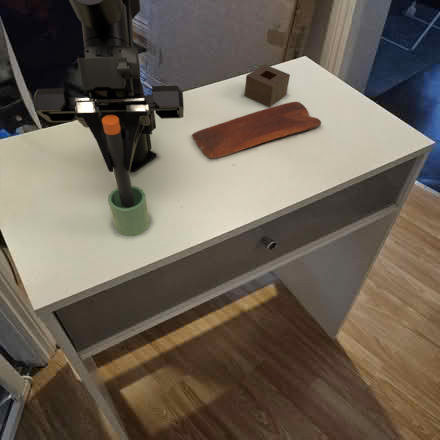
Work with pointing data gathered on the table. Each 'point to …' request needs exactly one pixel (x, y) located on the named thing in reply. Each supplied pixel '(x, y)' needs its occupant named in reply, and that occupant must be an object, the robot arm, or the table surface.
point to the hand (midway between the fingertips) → (119, 171)
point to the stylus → (118, 159)
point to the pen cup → (129, 213)
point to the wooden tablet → (254, 129)
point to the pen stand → (266, 85)
